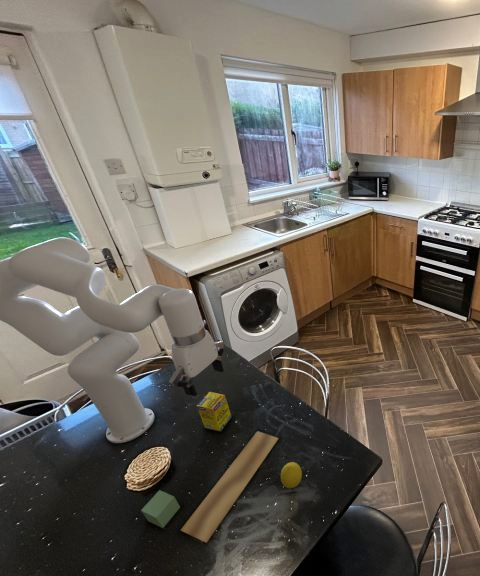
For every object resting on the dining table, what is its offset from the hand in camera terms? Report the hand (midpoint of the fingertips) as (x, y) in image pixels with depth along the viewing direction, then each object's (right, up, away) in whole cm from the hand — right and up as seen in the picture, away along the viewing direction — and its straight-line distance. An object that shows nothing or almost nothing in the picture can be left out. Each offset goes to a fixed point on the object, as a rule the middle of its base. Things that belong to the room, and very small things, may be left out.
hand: (206, 381), depth 89 cm
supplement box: (-4, -18, +14) cm, 23 cm away
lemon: (+26, -28, -3) cm, 38 cm away
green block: (-5, -31, -10) cm, 33 cm away
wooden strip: (+10, -27, -2) cm, 28 cm away
